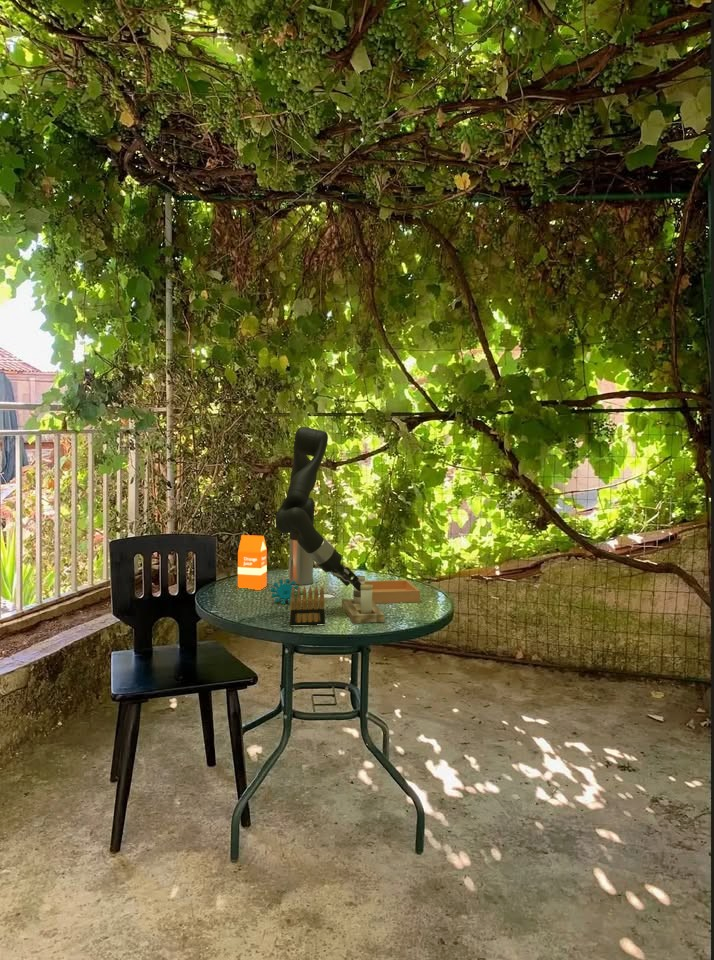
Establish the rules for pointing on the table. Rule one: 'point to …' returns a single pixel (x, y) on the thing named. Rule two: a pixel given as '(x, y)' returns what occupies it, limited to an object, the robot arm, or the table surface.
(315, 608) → the ammunition clip
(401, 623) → the table surface
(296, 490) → the robot arm
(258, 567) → the orange juice
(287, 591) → the gear
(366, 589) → the fuse
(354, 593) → the white domed cylinder
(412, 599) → the parts tray
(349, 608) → the fuse block
